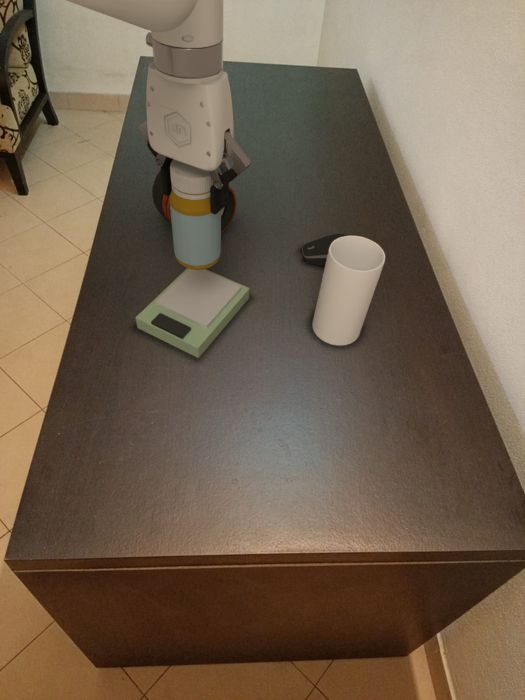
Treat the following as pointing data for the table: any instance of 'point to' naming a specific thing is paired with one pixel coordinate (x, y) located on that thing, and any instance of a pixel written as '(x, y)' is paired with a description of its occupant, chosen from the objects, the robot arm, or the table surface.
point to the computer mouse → (319, 249)
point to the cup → (347, 288)
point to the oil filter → (164, 204)
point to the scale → (193, 310)
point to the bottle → (193, 217)
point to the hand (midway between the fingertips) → (195, 199)
